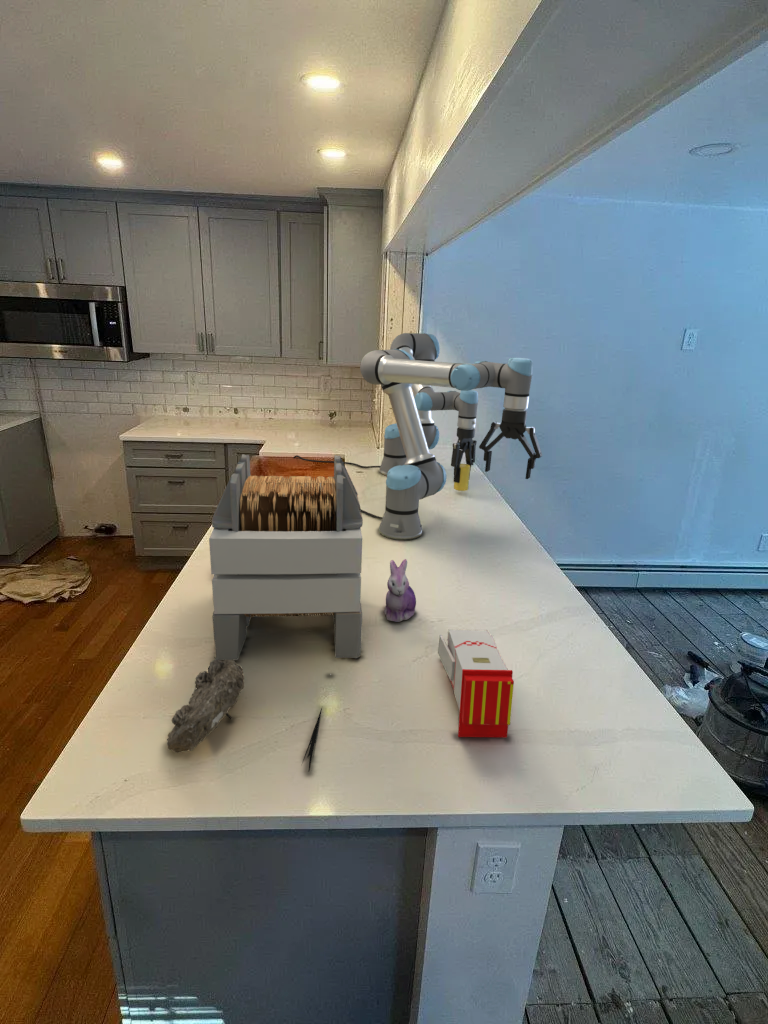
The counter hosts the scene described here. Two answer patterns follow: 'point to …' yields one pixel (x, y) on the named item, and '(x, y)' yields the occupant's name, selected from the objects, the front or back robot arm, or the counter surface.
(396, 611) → the figurine
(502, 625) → the counter surface
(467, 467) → the canister
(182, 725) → the fossil
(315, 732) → the feather
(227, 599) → the record crate
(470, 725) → the toy
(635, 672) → the counter surface
